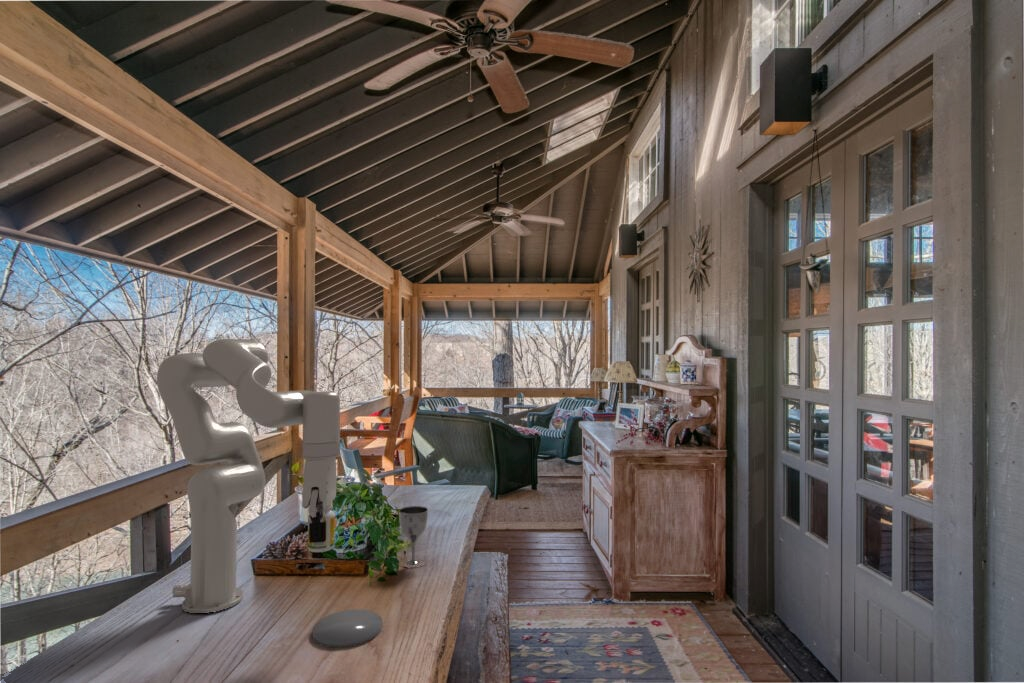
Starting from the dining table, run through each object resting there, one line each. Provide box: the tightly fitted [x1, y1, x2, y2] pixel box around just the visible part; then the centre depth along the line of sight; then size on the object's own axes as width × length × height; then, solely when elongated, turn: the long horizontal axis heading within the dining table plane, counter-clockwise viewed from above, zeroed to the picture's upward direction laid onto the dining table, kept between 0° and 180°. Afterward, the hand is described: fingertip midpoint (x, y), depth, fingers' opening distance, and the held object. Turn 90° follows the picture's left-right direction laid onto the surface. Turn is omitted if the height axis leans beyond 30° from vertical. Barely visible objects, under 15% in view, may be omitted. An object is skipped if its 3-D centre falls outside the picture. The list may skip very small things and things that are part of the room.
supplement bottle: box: [307, 501, 336, 553], centre depth 114 cm, size 5×5×10 cm
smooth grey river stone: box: [312, 608, 383, 649], centre depth 115 cm, size 14×14×1 cm
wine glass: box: [398, 505, 429, 565], centre depth 153 cm, size 8×8×15 cm
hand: (321, 536), depth 114 cm, fingers closed on supplement bottle, 5 cm apart
